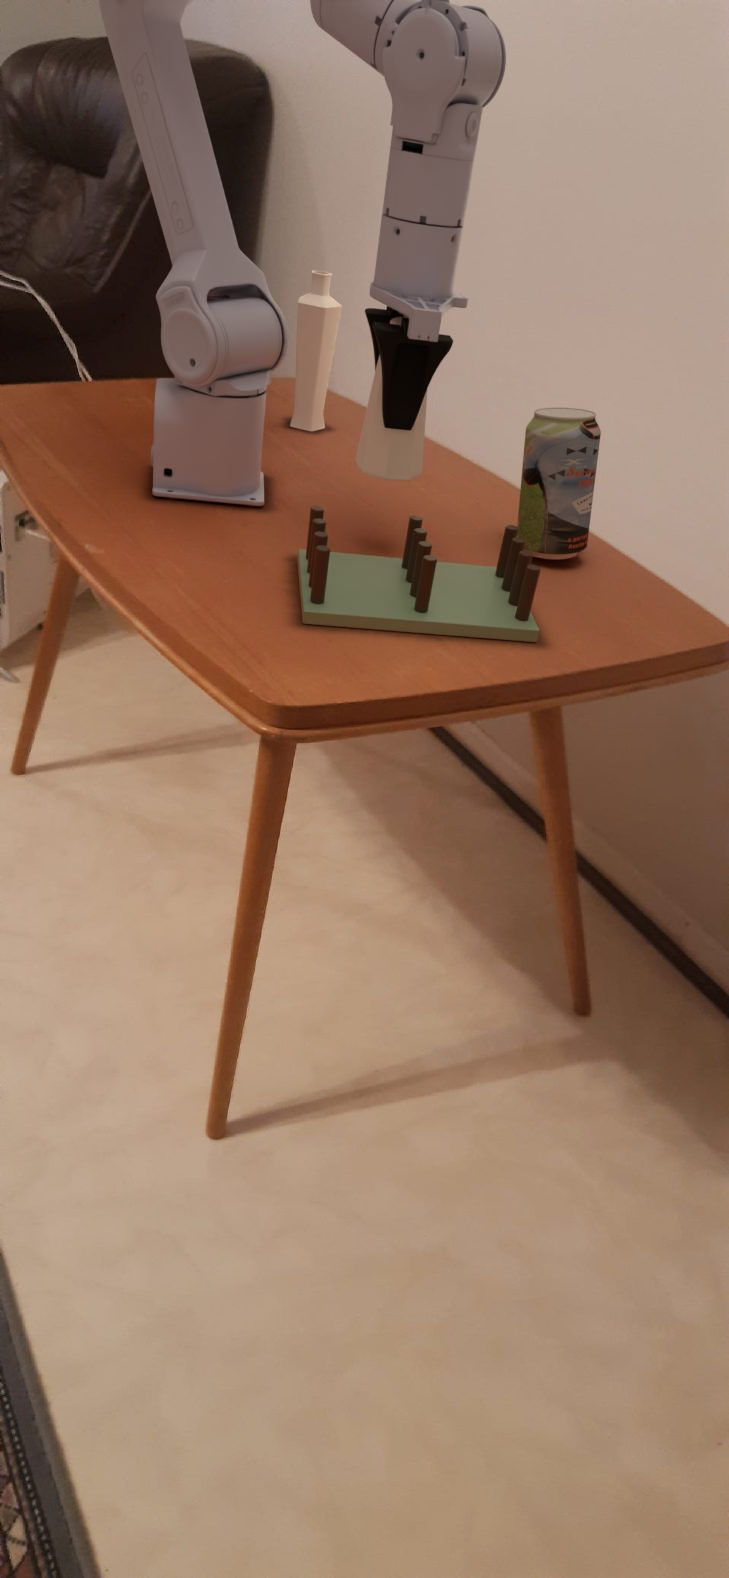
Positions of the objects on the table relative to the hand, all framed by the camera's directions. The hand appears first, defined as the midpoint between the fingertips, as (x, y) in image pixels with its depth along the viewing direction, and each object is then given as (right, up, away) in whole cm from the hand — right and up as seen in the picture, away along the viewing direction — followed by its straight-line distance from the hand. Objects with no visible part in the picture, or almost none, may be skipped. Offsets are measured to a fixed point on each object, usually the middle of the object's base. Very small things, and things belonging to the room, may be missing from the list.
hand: (394, 419), depth 79 cm
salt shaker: (0, -3, +2) cm, 4 cm away
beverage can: (+13, -8, +10) cm, 18 cm away
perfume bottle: (-8, +11, +32) cm, 34 cm away
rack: (+1, -14, -1) cm, 14 cm away
